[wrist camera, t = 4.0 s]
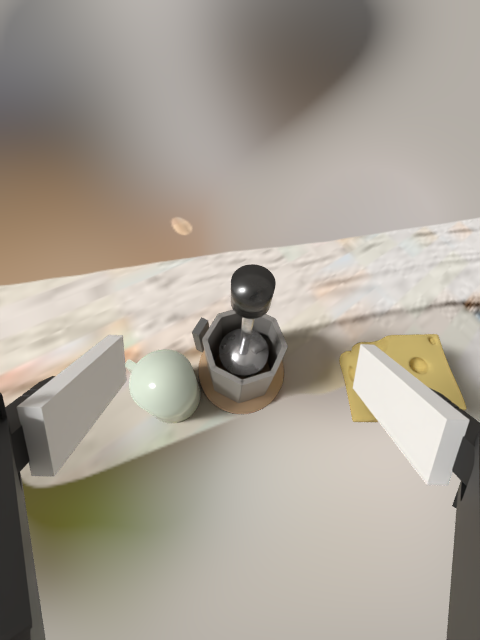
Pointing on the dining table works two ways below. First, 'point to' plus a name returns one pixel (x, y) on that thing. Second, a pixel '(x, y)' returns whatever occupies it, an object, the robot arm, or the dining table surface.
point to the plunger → (247, 321)
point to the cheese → (414, 356)
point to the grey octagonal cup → (230, 388)
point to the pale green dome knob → (164, 385)
